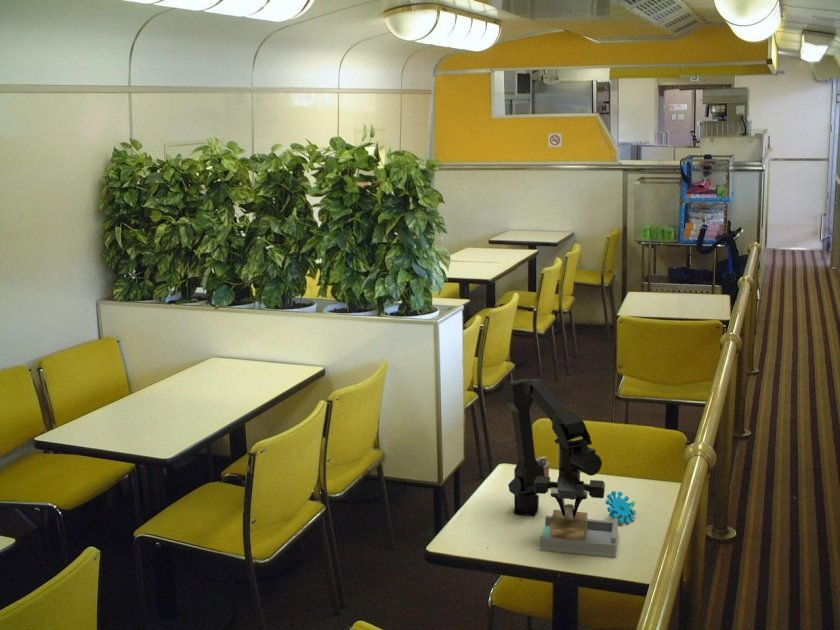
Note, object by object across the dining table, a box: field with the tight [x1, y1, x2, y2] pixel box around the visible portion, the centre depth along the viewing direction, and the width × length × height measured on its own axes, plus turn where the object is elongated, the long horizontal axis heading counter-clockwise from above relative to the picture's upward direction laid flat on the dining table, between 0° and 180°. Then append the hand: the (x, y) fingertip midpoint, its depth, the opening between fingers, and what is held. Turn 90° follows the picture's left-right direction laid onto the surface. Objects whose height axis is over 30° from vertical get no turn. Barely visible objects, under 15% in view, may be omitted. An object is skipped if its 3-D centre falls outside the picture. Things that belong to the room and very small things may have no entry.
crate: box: [550, 503, 589, 540], centre depth 250 cm, size 9×10×9 cm
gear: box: [605, 490, 636, 525], centre depth 264 cm, size 11×6×10 cm
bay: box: [539, 514, 619, 558], centre depth 250 cm, size 20×14×5 cm
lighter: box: [536, 455, 551, 477], centre depth 284 cm, size 8×3×10 cm, turn 134°
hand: (569, 515), depth 250 cm, fingers closed on crate, 2 cm apart
